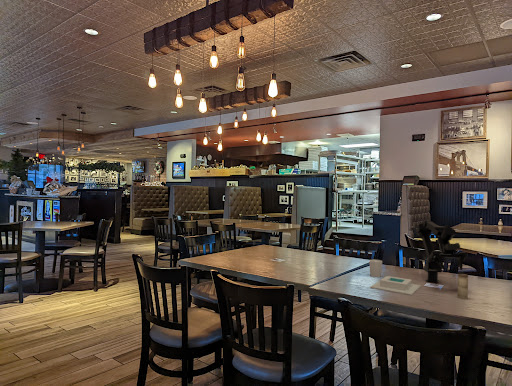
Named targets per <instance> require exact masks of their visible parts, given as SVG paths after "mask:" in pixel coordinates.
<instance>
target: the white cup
mask: <svg viewBox="0 0 512 386" xmlns="http://www.w3.org/2000/svg"><path fill="white" fill-rule="evenodd" d="M382 270H383V260H380V259H369V277H372V278H380V277H381V276H382Z"/></svg>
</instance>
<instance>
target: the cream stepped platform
mask: <svg viewBox="0 0 512 386" xmlns="http://www.w3.org/2000/svg"><path fill="white" fill-rule="evenodd" d="M412 282H413V279H409V278H402V277H396V276H390V275H386V276H385V277H383V278H381V279H379V281H377V282H376V283H374V284H372V285H371V286H369V289H375V290H379V291H385V292H390V293H397V294H402V295H407V296H412V295H414V294H415V293H416V292H417V291H418V290H419V289H420V288H421V287H422V285H420V284H414V283H412Z"/></svg>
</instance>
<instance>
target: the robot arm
mask: <svg viewBox="0 0 512 386" xmlns="http://www.w3.org/2000/svg"><path fill="white" fill-rule="evenodd" d="M415 231H416V233H417V236H418V237H419V239H421V240H422V244H423V246H424V251H425V254H426V257H427V258H426V261H425V265H424V267H423V270H424V272H427V278H426V280H425V282H429V283H433V284H434V283H435V284H438V283H439V282H440V280H439V273H442V272H443V270H445V265H444V261H443V259H442V258H448V259H449V258H450V259H456V263H457V265H458V268H459V270H460V271H462V270H463V263H464V262H466V260H467V259H468V257H469V255H468V253H467V252H466V251H459V252H458V253H457V254H454V253H456V251H458V250H460V249H461V245H460V242H455V243H451V242H450V241H451V240H452V239H453V237H455V235H456V230H455V228H452V227H451V226H450V225H445V226H443V225H442V226H441V225H438V224H436V223H435V222H433V221H432V220H423V222H422V223H420V224H418V225H417V226H416V229H415ZM431 234H433V236H434V237H438V238H436V239H437V240H436V243H437V244H438V245H439V249H438V250H435V249H434V245H433V243H432V240H431Z"/></svg>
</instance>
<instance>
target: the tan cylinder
mask: <svg viewBox="0 0 512 386" xmlns="http://www.w3.org/2000/svg"><path fill="white" fill-rule="evenodd" d="M468 290H469V275H468V274H467V273H466V274H465V273H458V274H457V298H458V299H461V300H467V299H468V298H469V297H468V295H469V291H468Z"/></svg>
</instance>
